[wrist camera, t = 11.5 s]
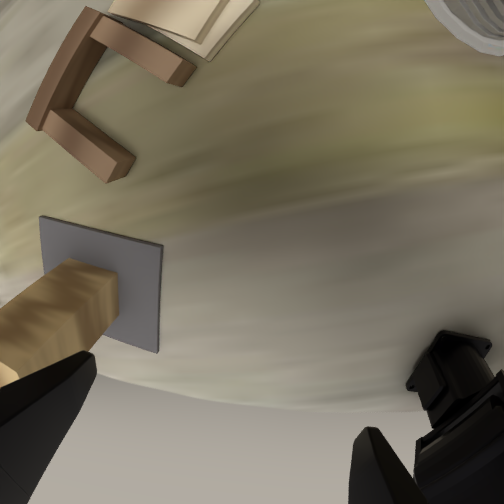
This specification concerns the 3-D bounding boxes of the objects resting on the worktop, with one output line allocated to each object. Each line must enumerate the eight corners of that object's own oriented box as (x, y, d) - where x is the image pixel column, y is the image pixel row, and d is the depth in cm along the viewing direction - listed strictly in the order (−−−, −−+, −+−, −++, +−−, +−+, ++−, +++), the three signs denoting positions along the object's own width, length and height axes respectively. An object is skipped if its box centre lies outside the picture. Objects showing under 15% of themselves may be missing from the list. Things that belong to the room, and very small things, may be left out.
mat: (162, 245, 22) (160, 247, 21) (158, 350, 26) (157, 353, 25) (41, 215, 22) (38, 216, 22) (53, 311, 26) (50, 313, 26)
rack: (259, 4, 15) (252, -15, 12) (129, 181, 20) (106, 191, 17) (156, -43, 13) (138, -60, 11) (51, 118, 19) (25, 121, 16)
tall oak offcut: (117, 273, 23) (16, 372, 12) (119, 314, 24) (36, 416, 13) (68, 257, 23) (-34, 336, 12) (73, 297, 25) (-14, 381, 14)
